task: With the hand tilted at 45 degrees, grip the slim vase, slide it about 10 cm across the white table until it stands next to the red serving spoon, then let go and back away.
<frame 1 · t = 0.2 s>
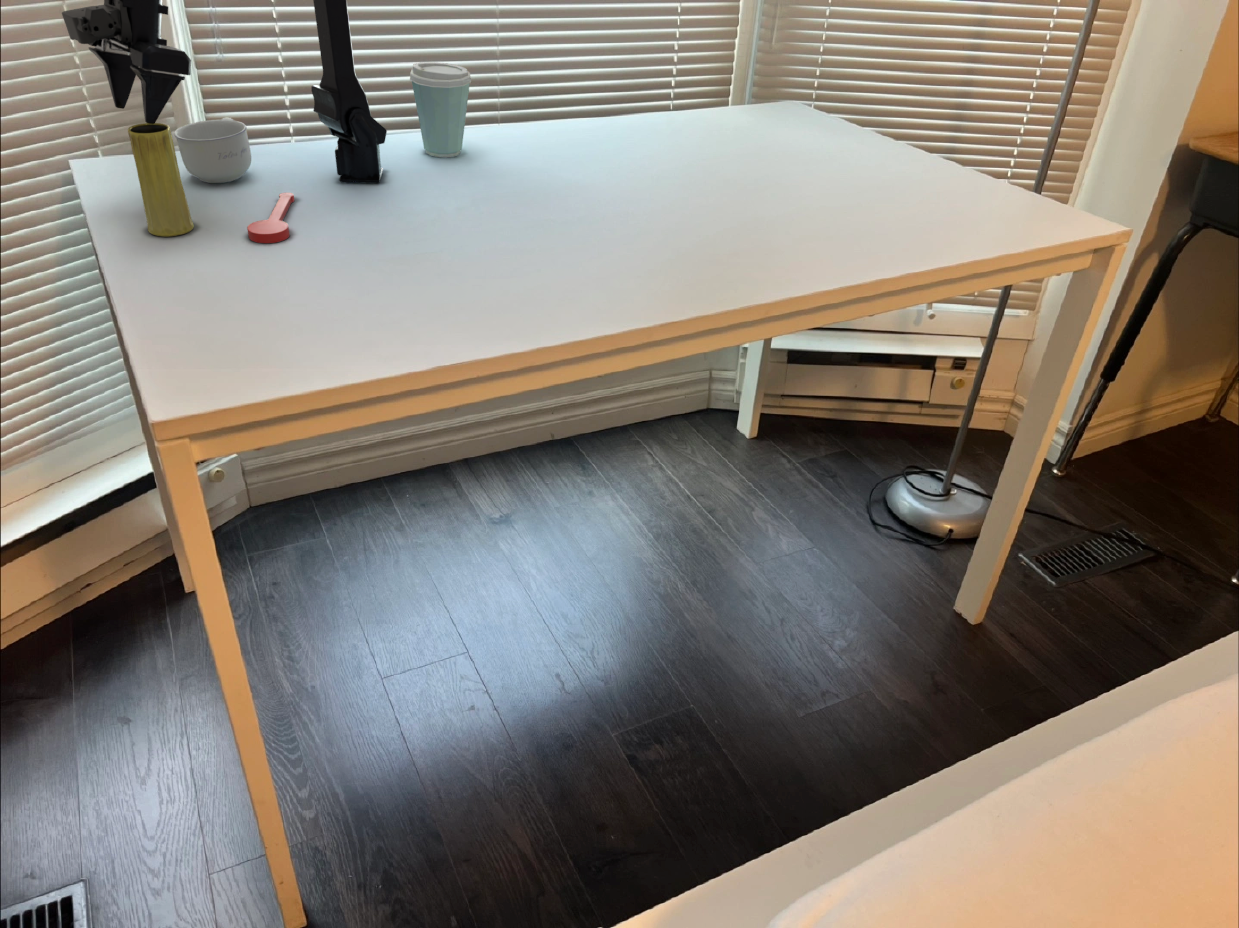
hand: (134, 115, 129), 15 cm above the table, tool tilted 15°, fingers open, 9 cm apart
disposable coffee cup: (444, 153, 172), on the table
spoon: (269, 235, 137), on the table
vase: (171, 230, 137), on the table
teacup: (225, 175, 157), on the table
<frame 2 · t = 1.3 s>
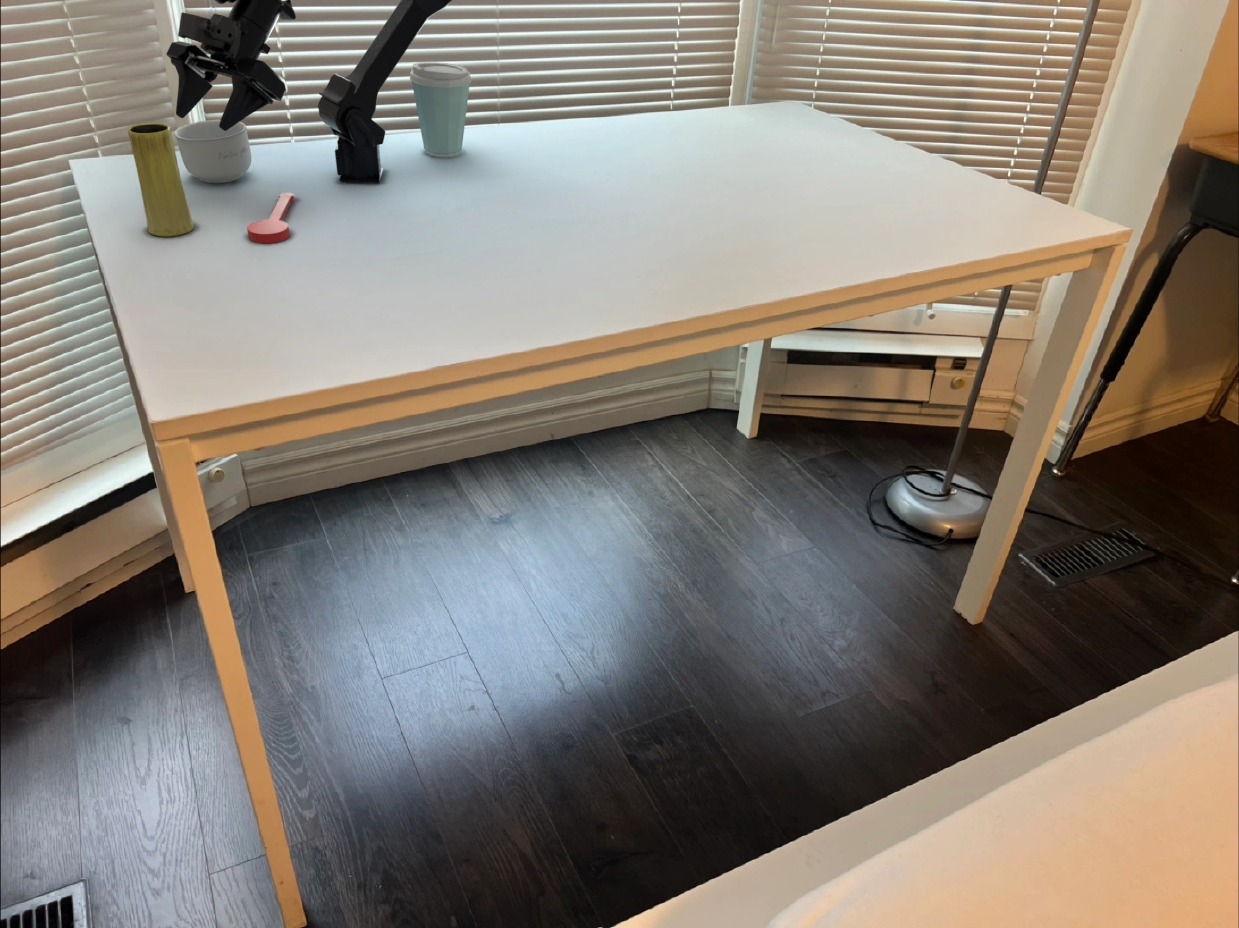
hand: (200, 122, 135), 13 cm above the table, tool tilted 45°, fingers open, 9 cm apart
nothing on the table moved.
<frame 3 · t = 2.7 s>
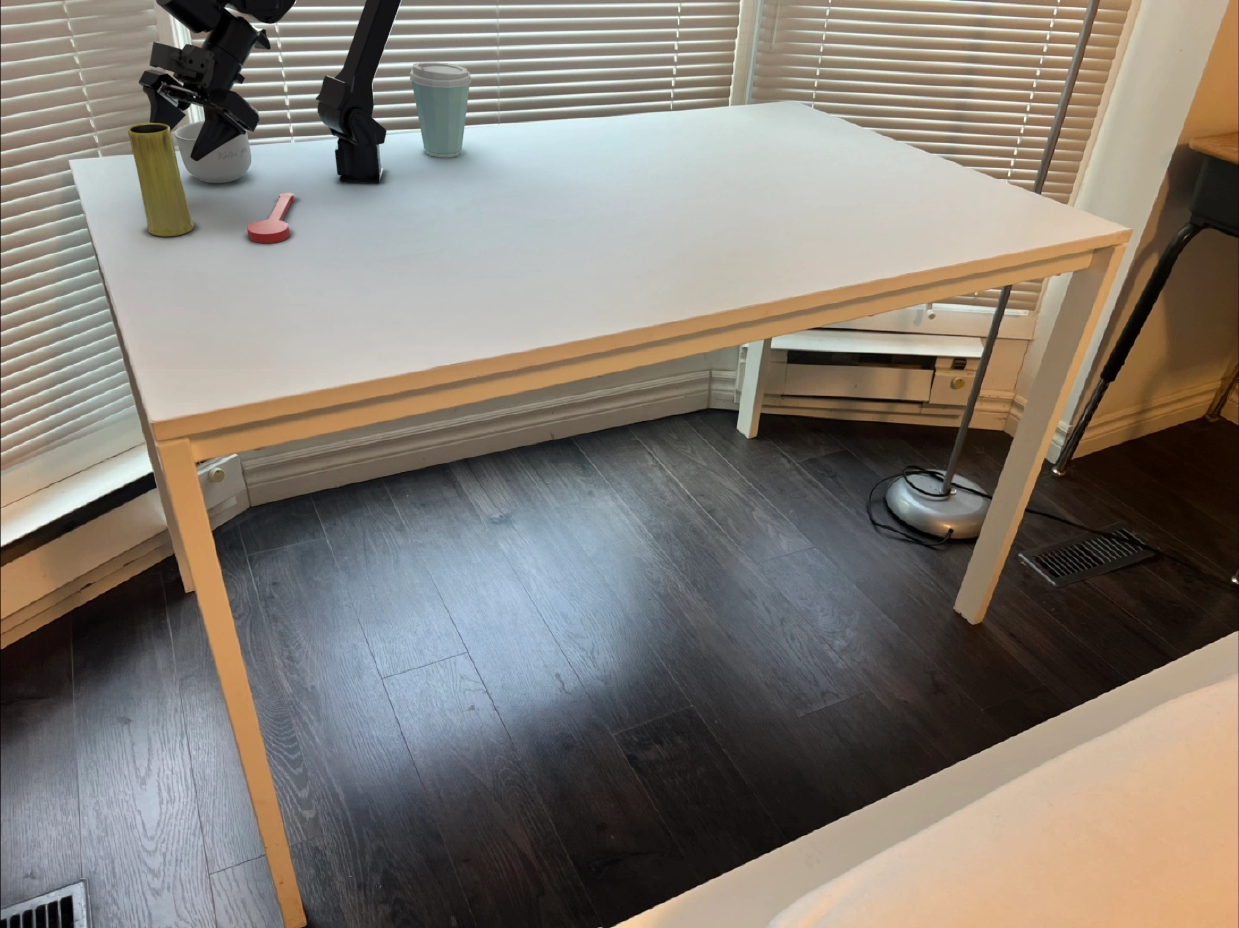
hand: (171, 152, 133), 10 cm above the table, tool tilted 45°, fingers open, 9 cm apart
nothing on the table moved.
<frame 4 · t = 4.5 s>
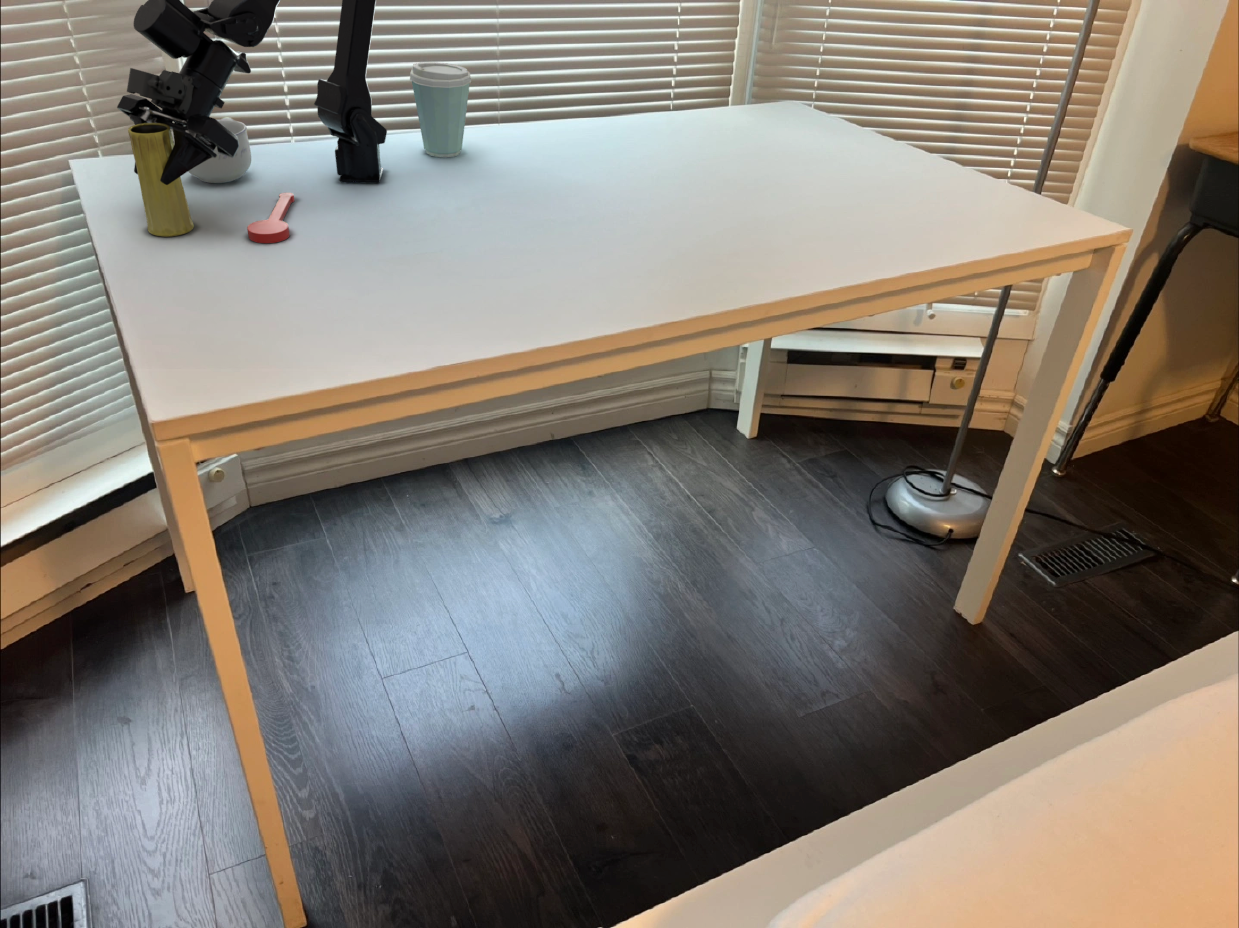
hand: (150, 178, 132), 8 cm above the table, tool tilted 45°, fingers closed on vase, 5 cm apart
vase: (171, 230, 137), on the table, touching gripper
everything else where it was.
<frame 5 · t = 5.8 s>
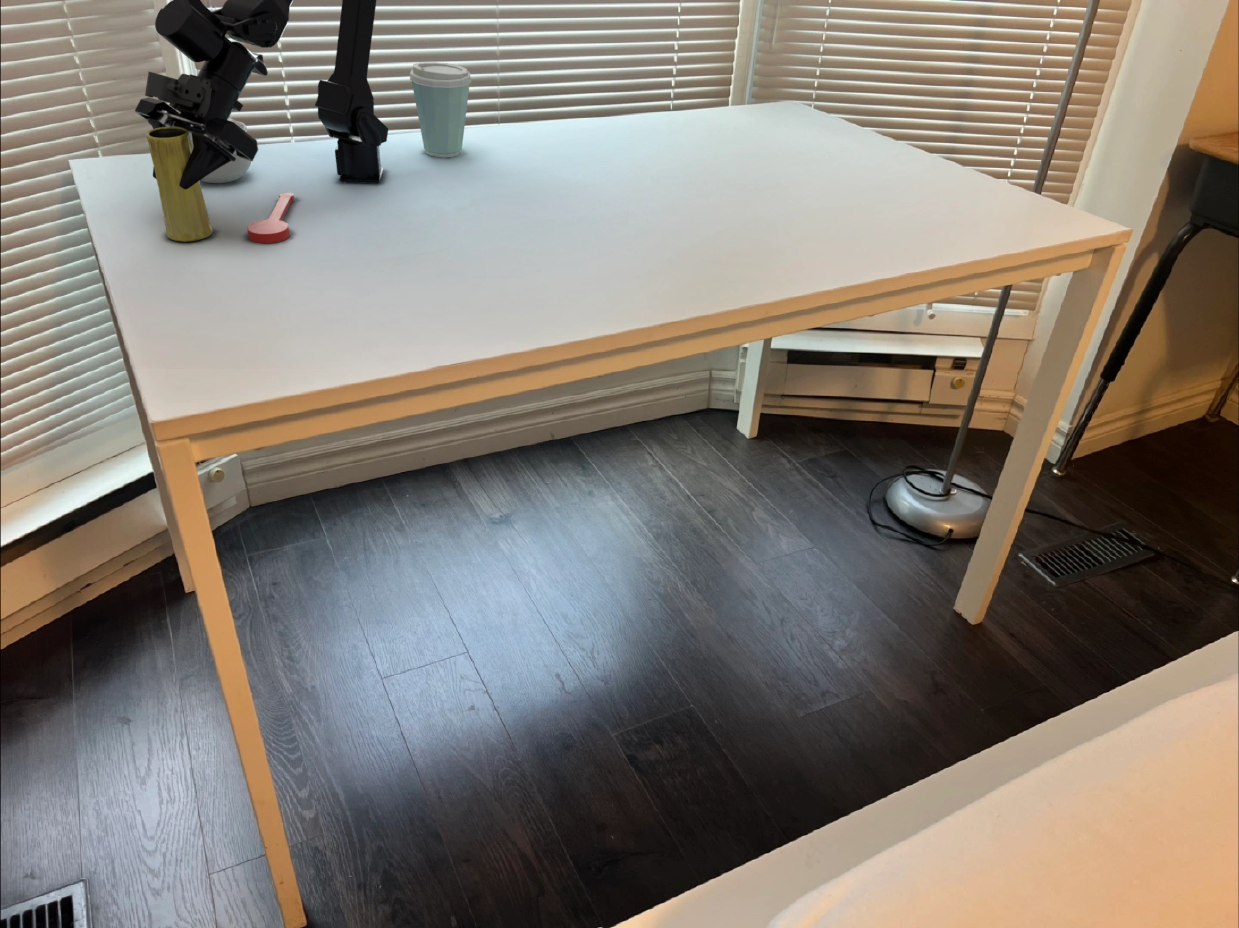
hand: (169, 183, 130), 8 cm above the table, tool tilted 45°, fingers closed on vase, 5 cm apart
vase: (190, 234, 136), on the table, touching gripper
everything else where it was.
when the fingers open (8 cm above the table, at t = 7.6 s): vase stays where it is, on the table.
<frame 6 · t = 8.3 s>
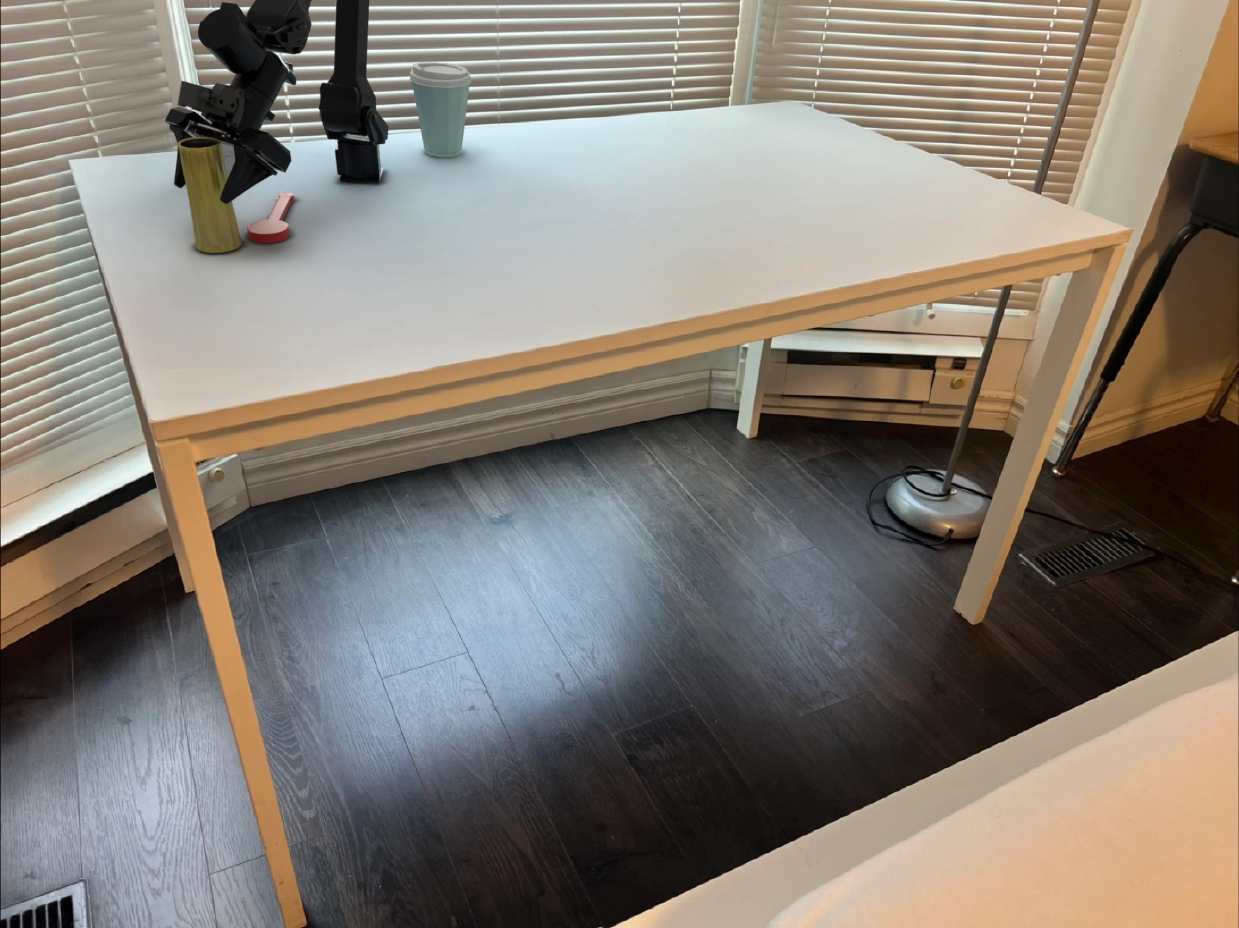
hand: (199, 194, 128), 8 cm above the table, tool tilted 45°, fingers open, 9 cm apart
vase: (219, 246, 133), on the table
everything else where it was.
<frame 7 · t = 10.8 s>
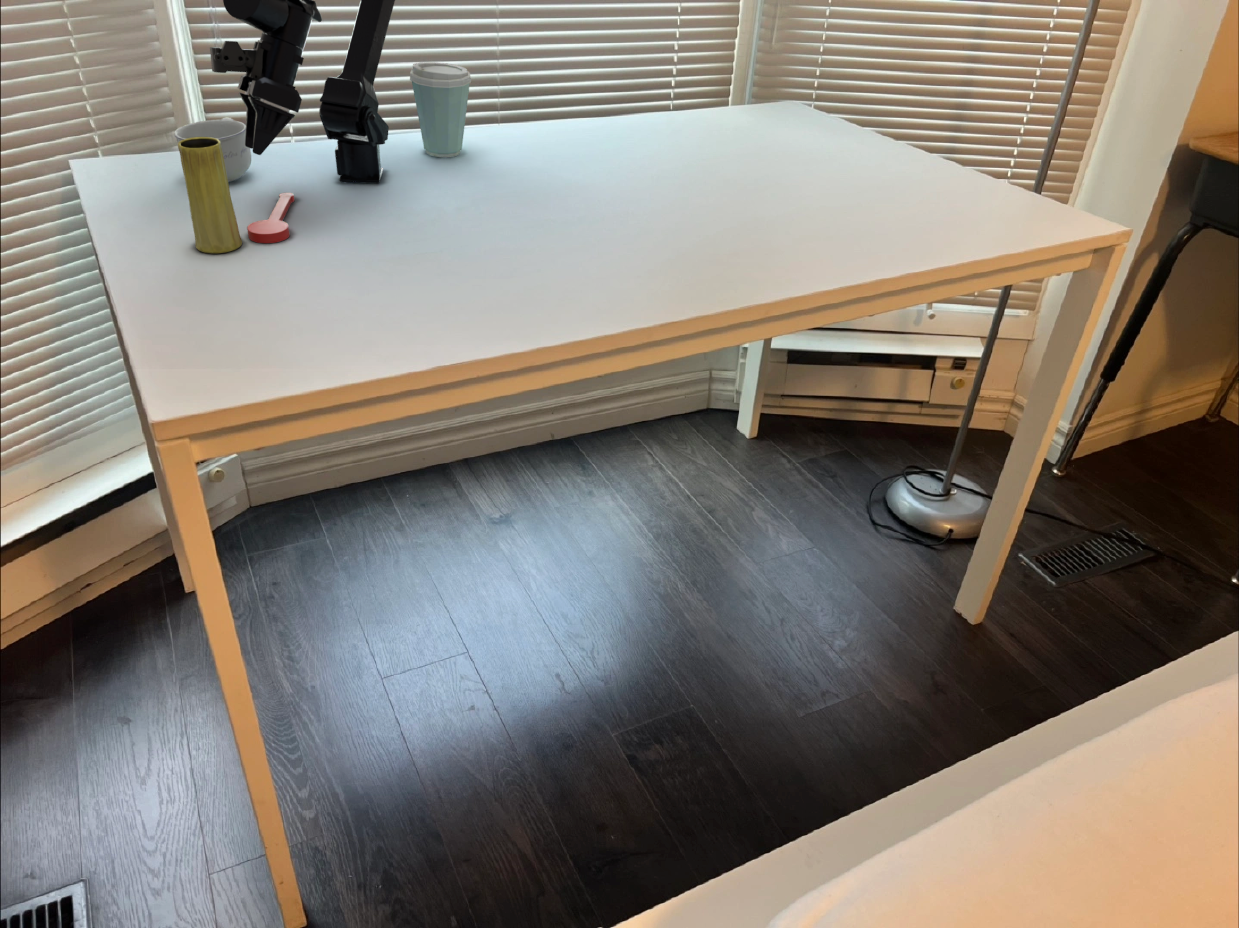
hand: (252, 150, 137), 10 cm above the table, tool tilted 30°, fingers open, 9 cm apart
nothing on the table moved.
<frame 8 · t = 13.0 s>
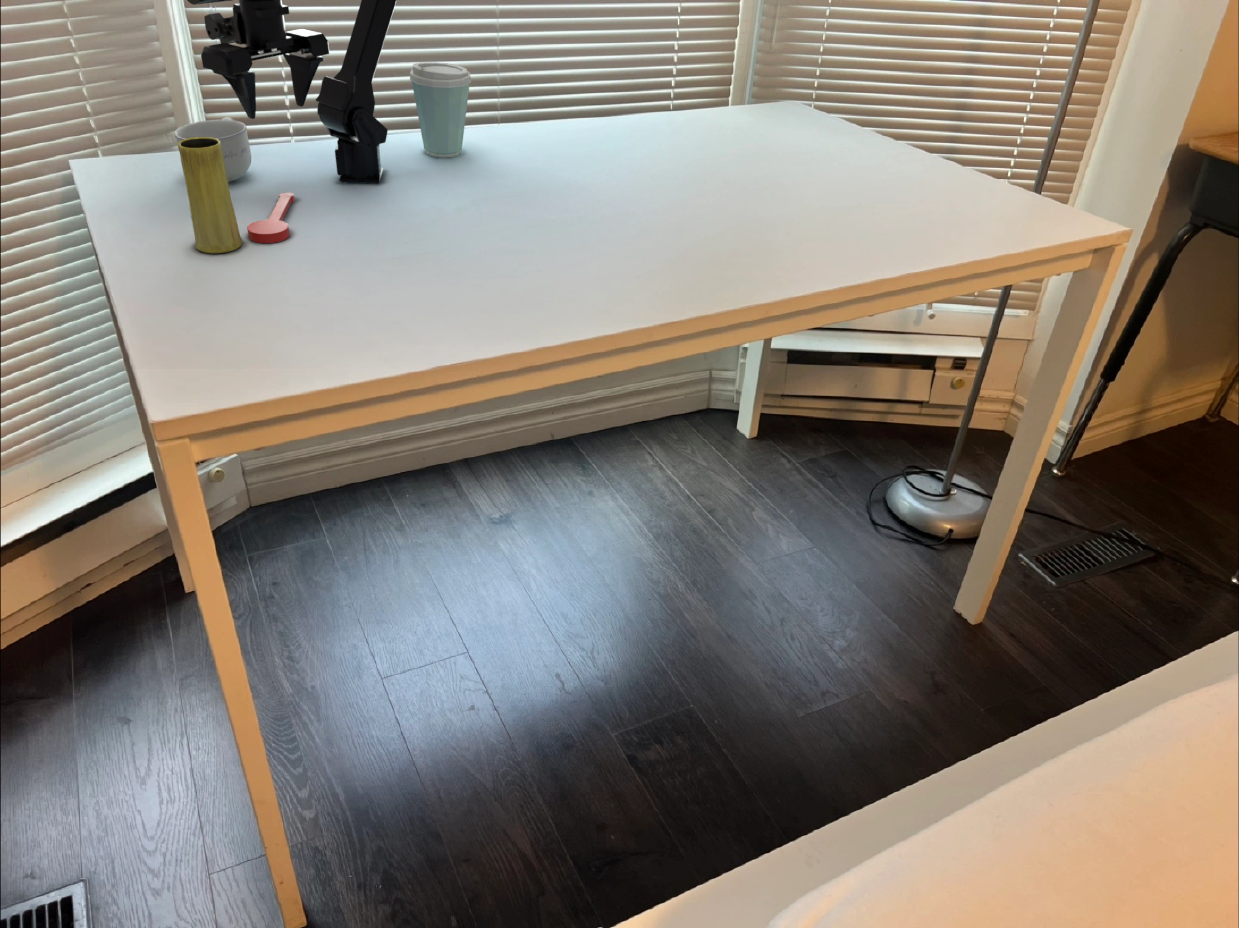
hand: (276, 111, 142), 13 cm above the table, tool pointing down, fingers open, 9 cm apart
nothing on the table moved.
at the end: vase 7.1 cm from the spoon (horizontally); vase tilted 0°; the gripper is holding nothing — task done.
